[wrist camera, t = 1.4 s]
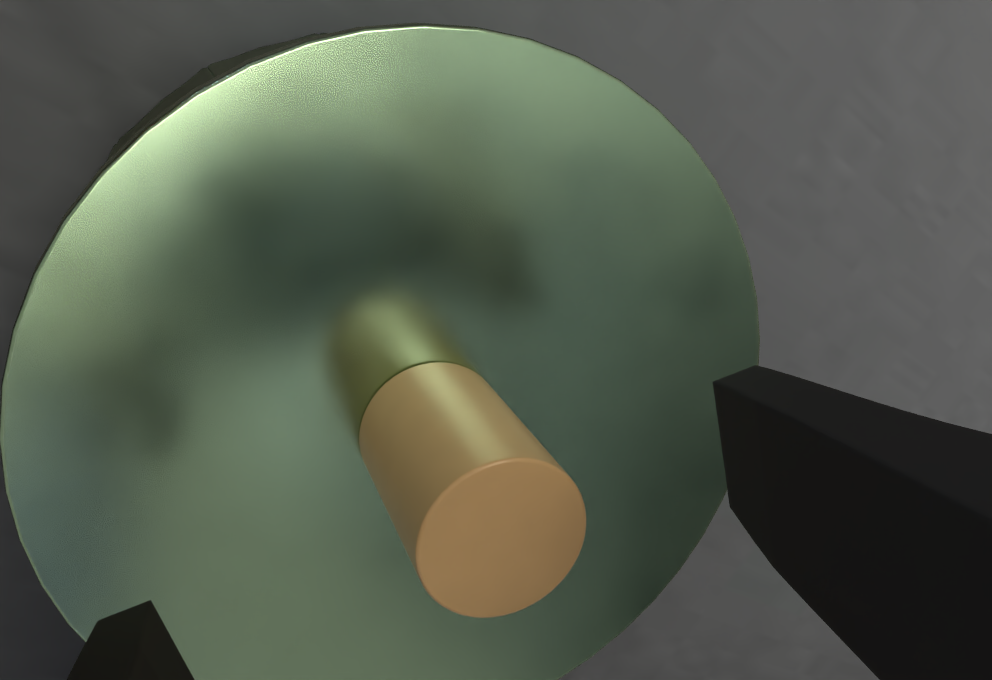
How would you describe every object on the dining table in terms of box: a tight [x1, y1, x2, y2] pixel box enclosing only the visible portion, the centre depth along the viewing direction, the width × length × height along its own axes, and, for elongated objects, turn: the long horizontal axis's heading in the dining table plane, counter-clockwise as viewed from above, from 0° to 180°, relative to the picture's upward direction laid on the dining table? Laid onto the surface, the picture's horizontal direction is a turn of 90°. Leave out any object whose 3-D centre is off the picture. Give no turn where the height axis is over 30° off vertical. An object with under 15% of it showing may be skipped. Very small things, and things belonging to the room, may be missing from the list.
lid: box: [0, 23, 760, 680], centre depth 14 cm, size 13×13×5 cm
